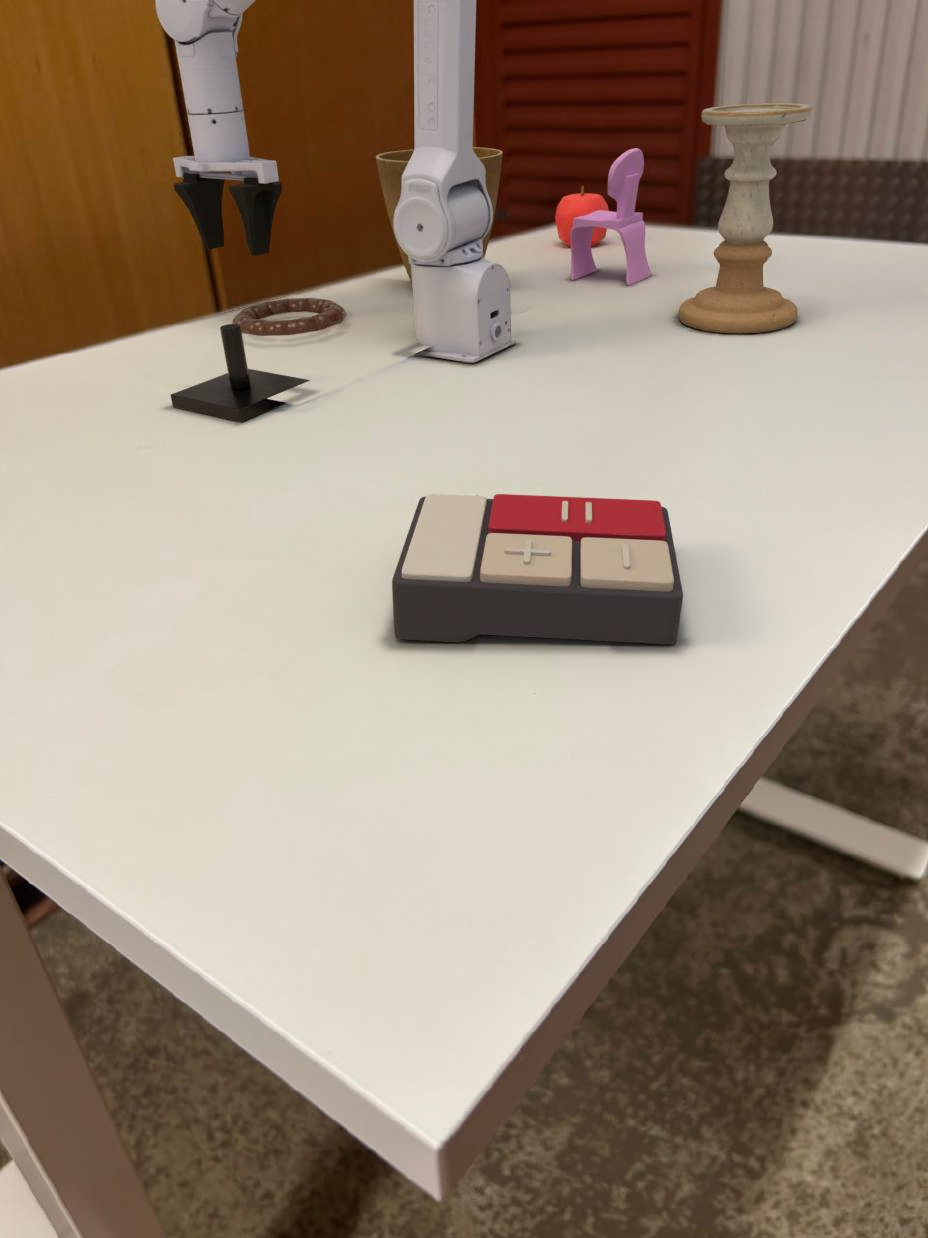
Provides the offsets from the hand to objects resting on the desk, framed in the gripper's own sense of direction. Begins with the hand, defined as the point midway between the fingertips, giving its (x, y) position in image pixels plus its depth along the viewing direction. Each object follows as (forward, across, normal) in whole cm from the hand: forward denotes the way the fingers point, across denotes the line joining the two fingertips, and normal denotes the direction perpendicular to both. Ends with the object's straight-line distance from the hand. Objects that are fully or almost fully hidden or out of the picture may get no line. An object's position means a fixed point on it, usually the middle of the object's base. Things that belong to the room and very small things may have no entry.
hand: (237, 250), depth 106 cm
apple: (+8, +9, +57) cm, 58 cm away
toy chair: (+8, +24, +40) cm, 47 cm away
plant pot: (+9, +10, +24) cm, 27 cm away
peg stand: (+8, +19, -18) cm, 28 cm away
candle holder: (+8, +47, +28) cm, 55 cm away
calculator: (+8, +62, -32) cm, 71 cm away
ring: (+7, +5, +2) cm, 9 cm away
